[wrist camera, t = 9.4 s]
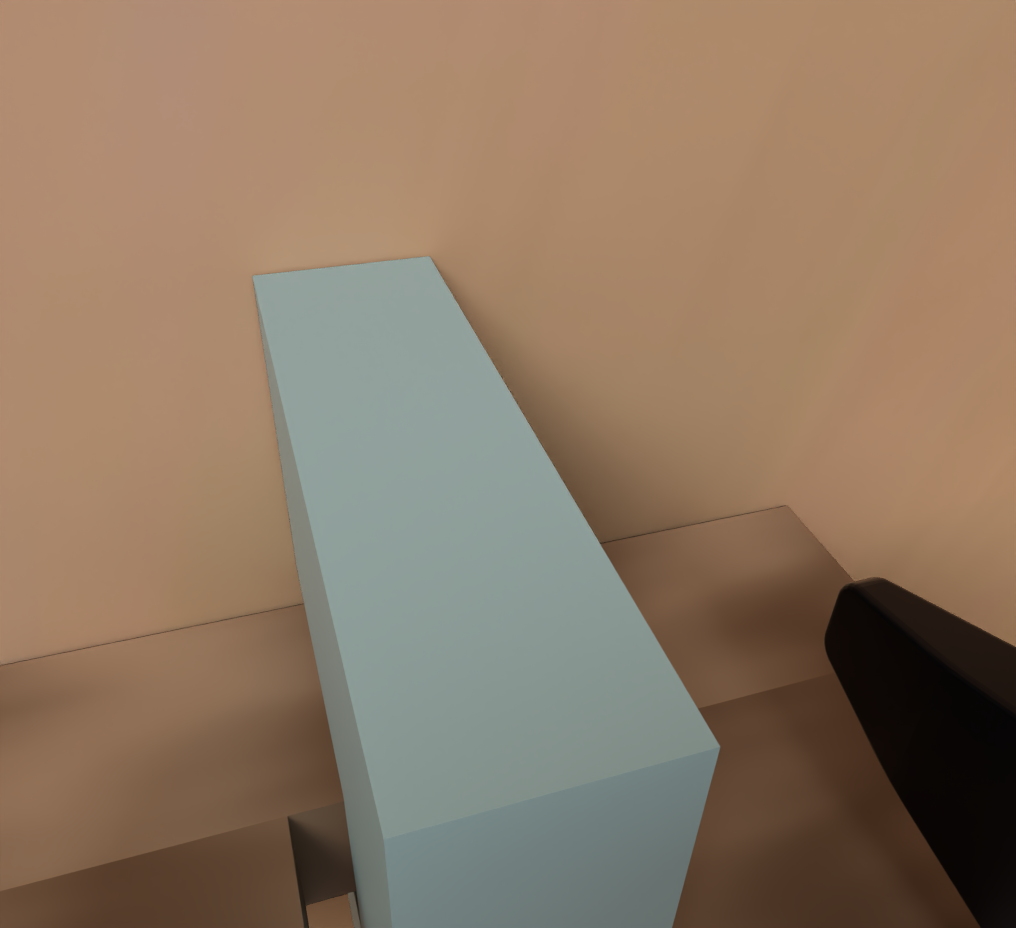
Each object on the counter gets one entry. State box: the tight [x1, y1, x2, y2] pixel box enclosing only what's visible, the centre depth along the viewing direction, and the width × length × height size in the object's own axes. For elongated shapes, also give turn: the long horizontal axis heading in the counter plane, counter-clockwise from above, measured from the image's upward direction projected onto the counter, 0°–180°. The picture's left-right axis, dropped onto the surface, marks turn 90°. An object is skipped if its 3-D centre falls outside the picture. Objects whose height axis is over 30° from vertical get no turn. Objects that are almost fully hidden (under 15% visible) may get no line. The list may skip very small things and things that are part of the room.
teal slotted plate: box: [253, 256, 720, 928], centre depth 11 cm, size 12×2×7 cm, turn 178°
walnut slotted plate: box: [0, 506, 980, 928], centre depth 11 cm, size 14×2×7 cm, turn 88°
